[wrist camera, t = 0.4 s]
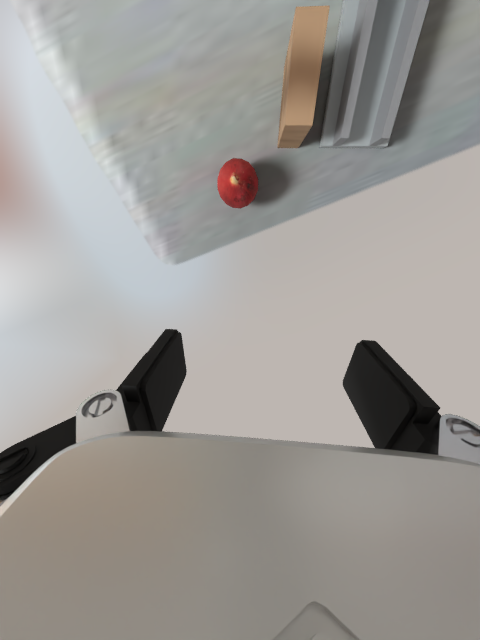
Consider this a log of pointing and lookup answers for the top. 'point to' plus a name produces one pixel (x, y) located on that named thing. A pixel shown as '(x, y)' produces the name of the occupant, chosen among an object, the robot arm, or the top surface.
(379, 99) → the track
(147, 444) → the robot arm
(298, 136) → the door slab
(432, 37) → the top surface
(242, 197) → the onion
